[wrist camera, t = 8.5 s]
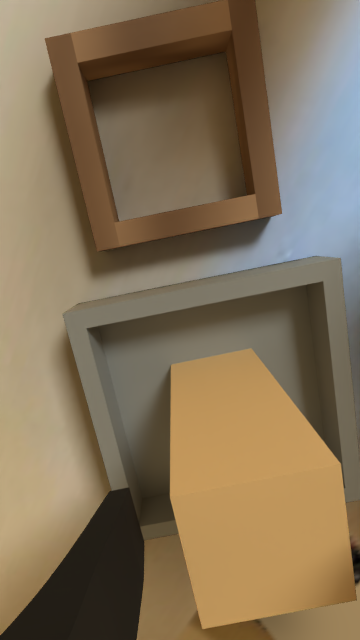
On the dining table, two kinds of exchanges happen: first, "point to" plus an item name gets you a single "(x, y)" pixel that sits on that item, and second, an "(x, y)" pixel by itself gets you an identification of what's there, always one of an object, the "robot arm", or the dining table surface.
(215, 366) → the tan rectangular block
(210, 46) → the socket collar
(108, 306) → the tray
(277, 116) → the dining table surface
